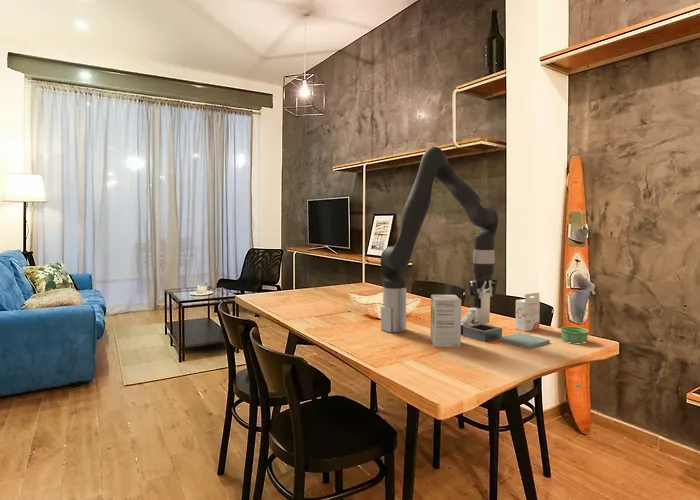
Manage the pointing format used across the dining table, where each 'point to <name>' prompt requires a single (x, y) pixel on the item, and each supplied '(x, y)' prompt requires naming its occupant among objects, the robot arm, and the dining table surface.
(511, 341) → the mat
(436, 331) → the supplement box
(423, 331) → the dining table surface
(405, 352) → the dining table surface
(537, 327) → the ink cartridge box
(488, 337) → the socket block
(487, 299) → the end plug
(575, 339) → the ramekin
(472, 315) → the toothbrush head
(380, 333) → the dining table surface
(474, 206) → the robot arm
